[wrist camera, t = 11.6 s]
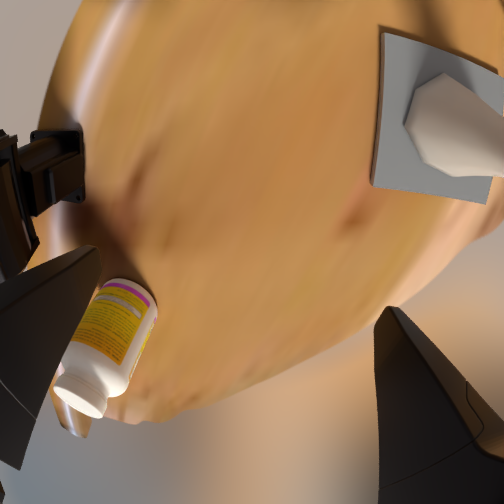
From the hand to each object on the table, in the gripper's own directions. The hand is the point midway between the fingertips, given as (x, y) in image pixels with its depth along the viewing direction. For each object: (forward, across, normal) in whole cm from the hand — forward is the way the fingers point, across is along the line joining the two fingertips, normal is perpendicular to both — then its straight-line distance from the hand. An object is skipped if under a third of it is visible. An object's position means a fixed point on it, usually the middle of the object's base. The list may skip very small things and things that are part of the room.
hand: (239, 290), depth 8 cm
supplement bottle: (+13, +11, +16) cm, 24 cm away
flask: (+12, -12, -7) cm, 18 cm away
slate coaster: (+13, -12, -7) cm, 19 cm away
